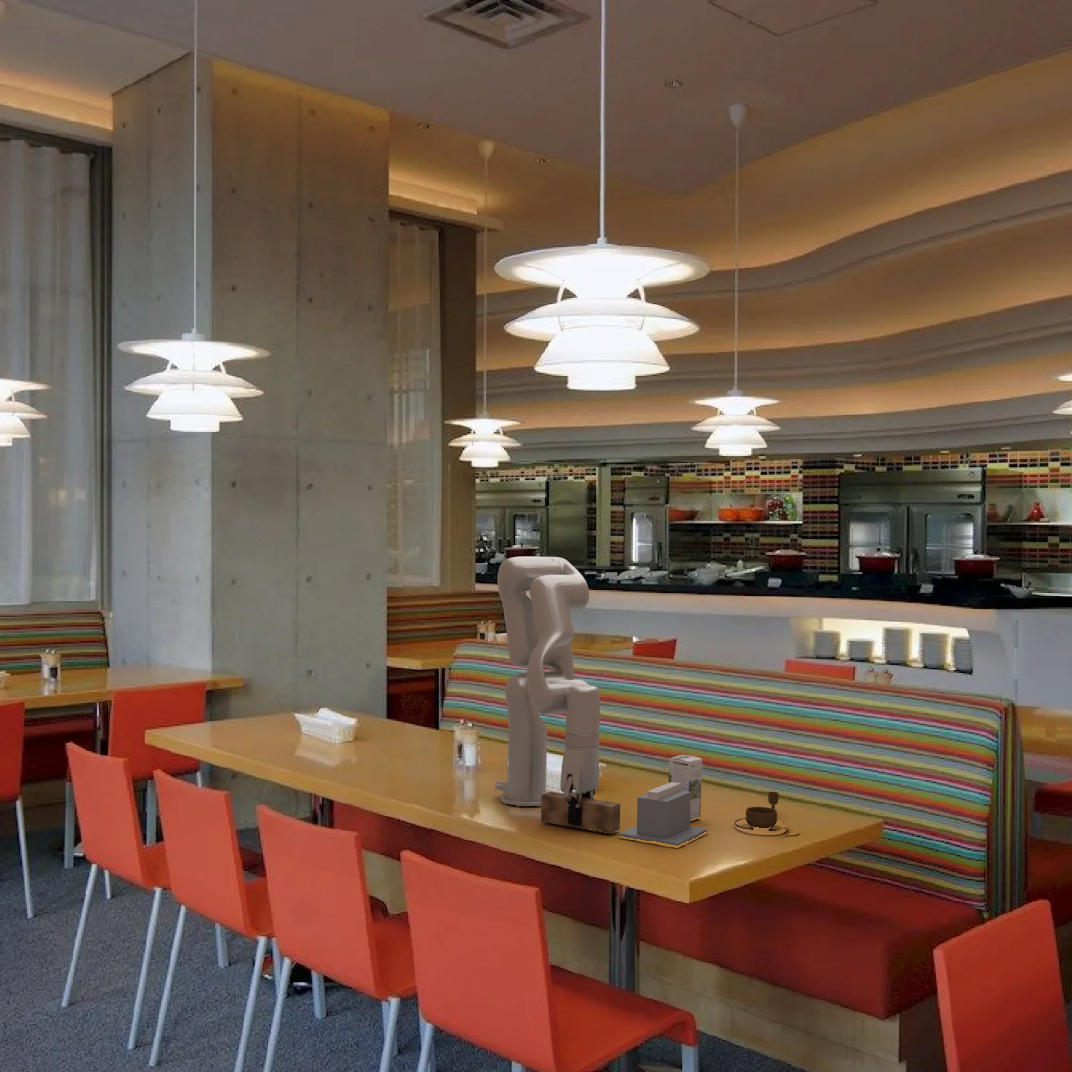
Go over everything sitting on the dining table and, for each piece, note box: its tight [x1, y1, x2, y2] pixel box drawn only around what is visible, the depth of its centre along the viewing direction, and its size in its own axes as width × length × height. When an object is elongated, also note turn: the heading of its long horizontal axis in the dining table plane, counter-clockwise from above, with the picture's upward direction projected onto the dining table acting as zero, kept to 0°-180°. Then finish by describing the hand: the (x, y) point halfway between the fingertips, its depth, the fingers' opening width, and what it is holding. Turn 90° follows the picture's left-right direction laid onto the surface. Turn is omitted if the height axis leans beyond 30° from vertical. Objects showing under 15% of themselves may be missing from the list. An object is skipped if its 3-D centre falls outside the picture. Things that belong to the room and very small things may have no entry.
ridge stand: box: [618, 782, 708, 846], centre depth 259 cm, size 14×15×11 cm
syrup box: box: [667, 754, 703, 820], centre depth 275 cm, size 6×6×14 cm
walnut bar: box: [540, 791, 621, 834], centre depth 264 cm, size 18×4×6 cm, turn 58°
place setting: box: [734, 791, 787, 829], centre depth 270 cm, size 18×20×6 cm
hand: (580, 821), depth 264 cm, fingers closed on walnut bar, 4 cm apart
